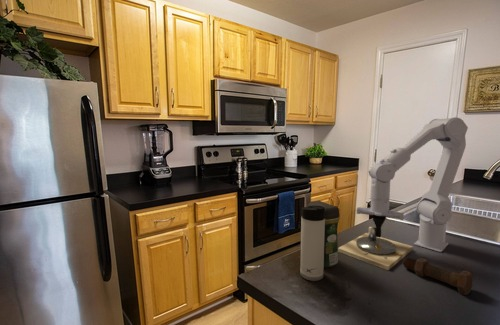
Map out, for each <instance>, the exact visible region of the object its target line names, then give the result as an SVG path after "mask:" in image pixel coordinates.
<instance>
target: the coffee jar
mask: <svg viewBox="0 0 500 325" xmlns="http://www.w3.org/2000/svg"><path fill="white" fill-rule="evenodd" d="M309 206H323V207H325V234H324V268H331V267H334V266H336V265H337V264H338V263H339V252H338V248H339V246H338V226H339V221H340V214H341V213H340V209H339V207H338V206H336V205H333V204H329V203H327V202H325V201H322V200H313V201H310V202H309V203H308V204H307V207H309Z"/></svg>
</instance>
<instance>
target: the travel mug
mask: <svg viewBox="0 0 500 325" xmlns="http://www.w3.org/2000/svg"><path fill="white" fill-rule="evenodd" d="M300 216H301V217H300V218H301V219H300V220H301V221H300V223H301V226H300V267H299V269H300V272H299V274H300V276H301V277H302V279H303V278H304V279H305V280H308V281H311V282H318V281H320V280H323V278H324V268H325V267H324V234H325V207H323V206H309V207H308V206H302V207H301V215H300Z"/></svg>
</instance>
